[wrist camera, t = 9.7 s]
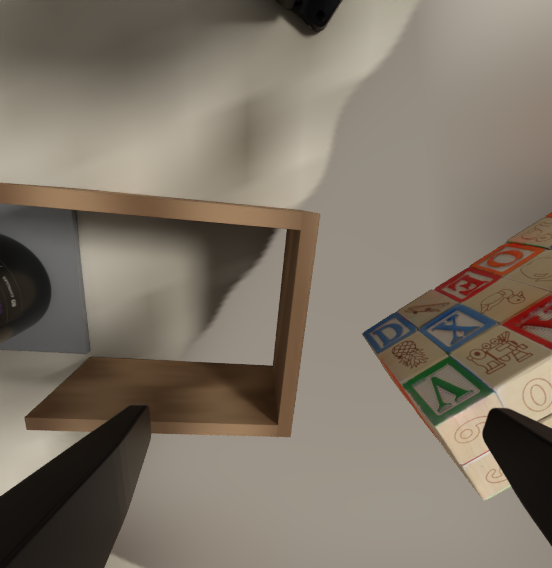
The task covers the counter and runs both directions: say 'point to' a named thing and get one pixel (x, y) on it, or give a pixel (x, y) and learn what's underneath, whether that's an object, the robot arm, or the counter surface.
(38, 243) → the mat
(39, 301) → the supplement bottle
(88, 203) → the open box
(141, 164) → the counter surface
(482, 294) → the stack of blocks
